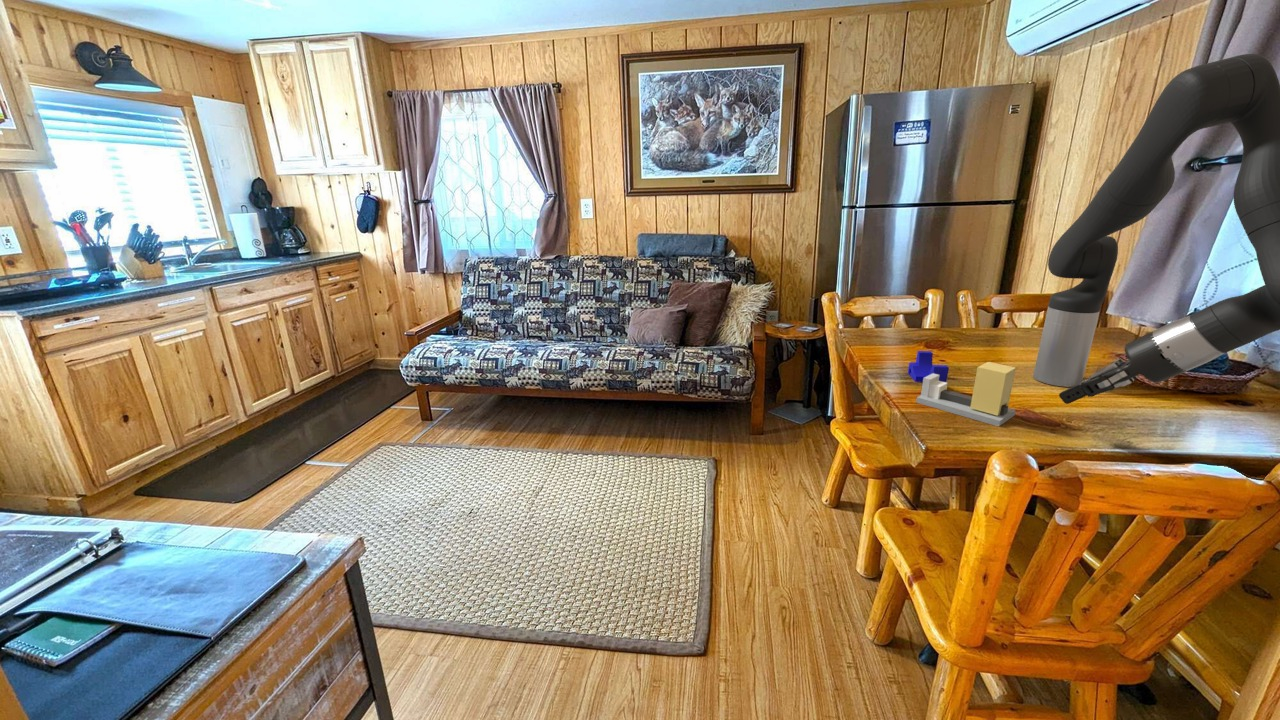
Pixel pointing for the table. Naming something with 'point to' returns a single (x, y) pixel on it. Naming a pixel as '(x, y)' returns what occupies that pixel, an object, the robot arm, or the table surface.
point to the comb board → (957, 402)
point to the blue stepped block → (926, 367)
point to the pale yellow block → (992, 387)
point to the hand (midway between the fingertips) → (1063, 398)
